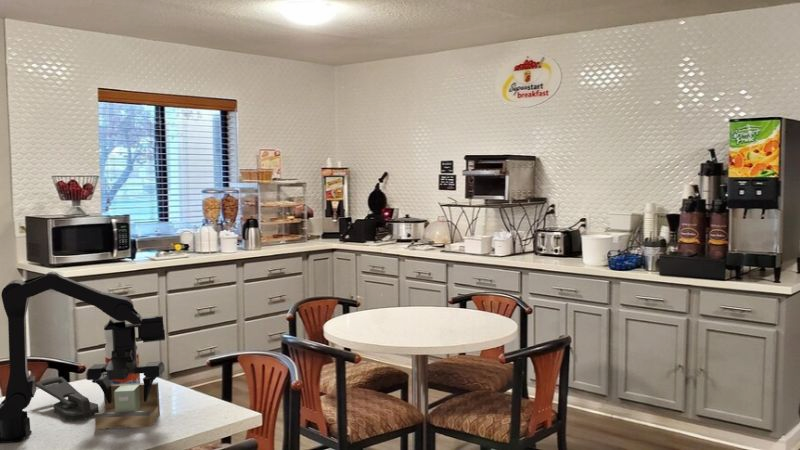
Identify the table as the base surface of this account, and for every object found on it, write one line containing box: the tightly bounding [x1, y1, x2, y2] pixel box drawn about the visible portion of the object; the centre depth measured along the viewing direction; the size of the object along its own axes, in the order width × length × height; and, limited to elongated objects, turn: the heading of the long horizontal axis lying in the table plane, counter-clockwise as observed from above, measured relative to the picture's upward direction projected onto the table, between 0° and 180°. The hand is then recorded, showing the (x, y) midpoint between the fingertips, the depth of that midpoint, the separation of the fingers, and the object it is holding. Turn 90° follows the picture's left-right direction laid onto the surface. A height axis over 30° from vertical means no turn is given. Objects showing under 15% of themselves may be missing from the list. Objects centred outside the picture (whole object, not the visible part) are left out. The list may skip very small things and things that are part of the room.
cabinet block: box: [114, 385, 141, 412], centre depth 188 cm, size 5×6×6 cm
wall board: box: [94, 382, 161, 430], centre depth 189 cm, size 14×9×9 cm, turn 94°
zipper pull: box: [35, 376, 100, 422], centre depth 200 cm, size 9×7×25 cm
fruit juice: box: [103, 316, 141, 385], centre depth 212 cm, size 9×9×28 cm
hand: (127, 402), depth 189 cm, fingers open, 9 cm apart
